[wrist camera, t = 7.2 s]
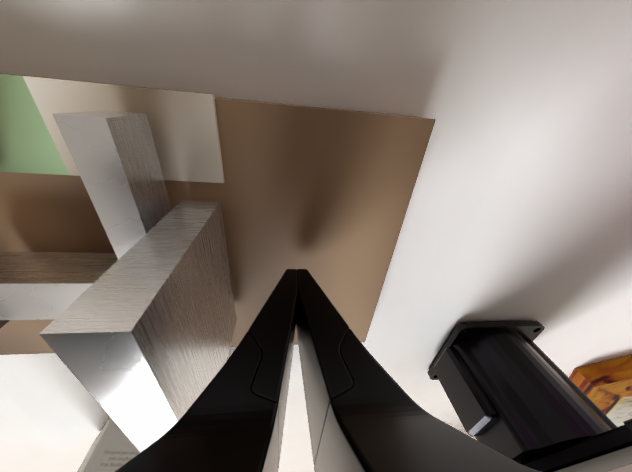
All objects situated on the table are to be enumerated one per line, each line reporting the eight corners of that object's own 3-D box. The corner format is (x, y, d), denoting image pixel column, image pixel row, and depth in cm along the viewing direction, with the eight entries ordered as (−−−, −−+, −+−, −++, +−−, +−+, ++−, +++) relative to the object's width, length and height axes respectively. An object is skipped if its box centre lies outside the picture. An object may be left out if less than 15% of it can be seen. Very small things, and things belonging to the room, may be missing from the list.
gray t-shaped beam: (208, 119, 6) (42, 161, 2) (236, 319, 11) (200, 465, 6) (-126, 90, 5) (-1650, 62, 1) (54, 323, 10) (-128, 497, 6)
